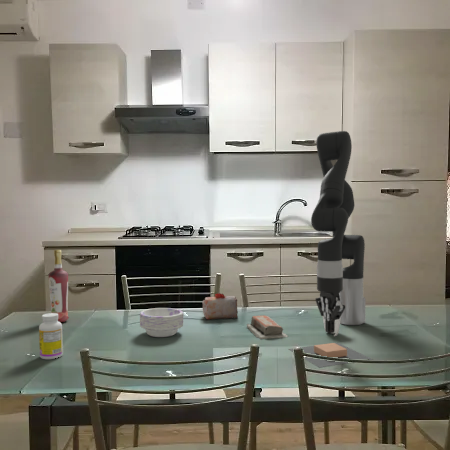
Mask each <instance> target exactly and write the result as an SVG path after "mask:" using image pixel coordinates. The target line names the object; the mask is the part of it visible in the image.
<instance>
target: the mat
mask: <svg viewBox="0 0 450 450" xmlns="http://www.w3.org/2000/svg"><path fill="white" fill-rule="evenodd" d="M334 343H335V344H337V345H339V346H341V347H343V348H346V349H347V356H343V357H338V358H349V359H369V360H368V361H372V360H374V359H373V358H371V357H369V356H367V355H365V354H362V353H360V352H359V351H357V350H354V349H352V348H351V347H348V346H346V345H344V344H343V343H339V342H334ZM302 348H303V350H304V352H305V353H311V354H316V355H319V354H317V353H315V352H314V345H309V346H303V347H302ZM288 350H289V351H291V352H292V353H294V352H293V348H288ZM304 360H305V361H307V362H309V363H311V364H312V365H314V366H316V367H318V368H319V369H320V368H326V367H331V366H332V367H333V366H339V365H347V364H349V363H348V362H335V361H327V360H320V359H313V358H307V357H305V359H304Z"/></svg>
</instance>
